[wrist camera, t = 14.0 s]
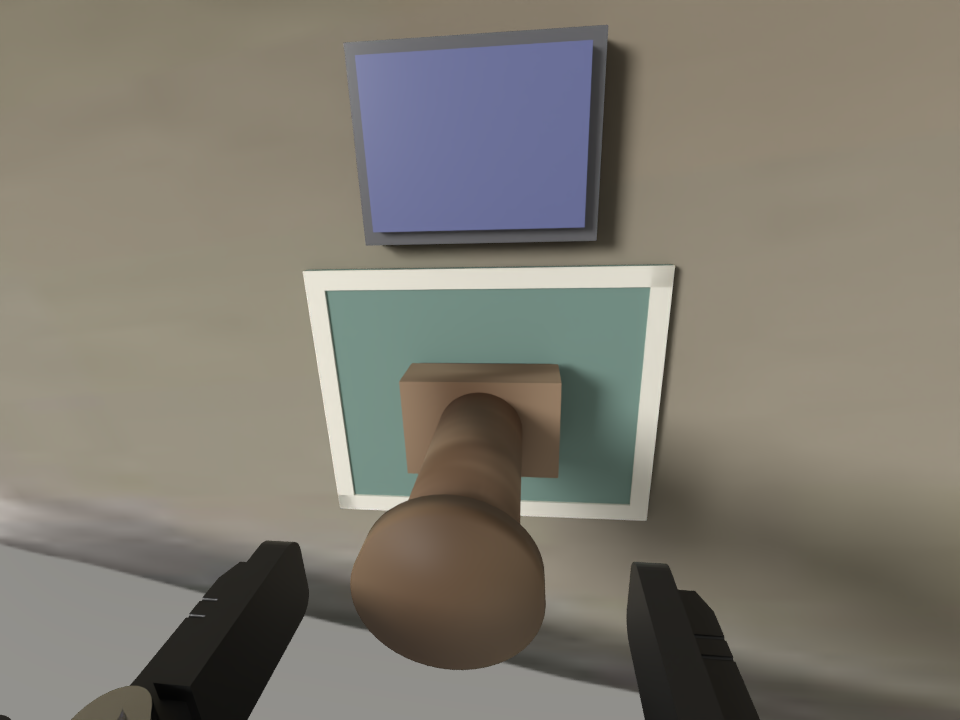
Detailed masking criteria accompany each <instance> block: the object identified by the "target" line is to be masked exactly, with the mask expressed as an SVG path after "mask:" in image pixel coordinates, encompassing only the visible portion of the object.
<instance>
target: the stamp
mask: <svg viewBox="0 0 960 720" xmlns="http://www.w3.org/2000/svg"><path fill="white" fill-rule="evenodd" d="M561 385H562V383H561V377H560V372H559V366H558V364H526V363H412V364H411V365H410V366H409V368H408V369H407V371H406V372H405V374H404V375H403V377H402V378H401V380H400V381H399V386H400V396H401V407H402V417H403V428H404V438H405V449H406V459H407V470H408V473H413V474H418V476H417V479H416V482H415V484H414V487H413V489H412V492H411V494H410V497H409V499H408V501H405V502H403V503H400V504H398V505H397V506H395V507H393V508H391V509H390V510H388V511H387V512H386V513H385V514H383V515H382V516H381V517H380V518H379V519H378V520H377V521H376V522H375V524H374V525H373V527H372V528H371V530H370V531H369V533H368V535H367V538H366V540H365V542H364V544H363V546H362V548H361V550H360V552H359V555H358V557H357V559H356V561H355V563H354V566H353V569H352V573H351V583H350V585H351V595H352V599H353V603H354V606H355V608H356V611H357V613H358V615H359V616H360V618H361V620H362V622H363V623H364V624H365V626H366V627H367V628H368V630H369V631H370V632H371V633H372V634H373V635H374V636H375V637H376V638H377V639H378V640H379V641H381V642H382V643H383V644H384V645H386V646H387V647H388V648H390V649H391V650H393V651H394V652H396V653H398V654H400V655H402V656H404V657H406V658H408V659H410V660H413V661H415V662H418V663H421V664H425V665H427V666H432V667H436V668H443V669H450V670H451V669H452V670H469V669H478V668H484V667H489V666H492V665H495V664H498V663H501V662H503V661H506V660H508V659H510V658H511V657H513V656H515V655H517V654H518V653H519V652H521V651H522V650H523V649H525V648H526V647H527V646H528V644H529V643H530V642H531V641H532V640H533V639H534V637H535V636H536V635H537V633H538V631H539V629H540V627H541V625H542V622H543V619H544V615H545V607H546V601H545V577H544V565H543V561H542V557H541V554H540V552H539V549H538V547H537V545H536V544H535V542H534V540H533V539H532V537H531V536H530V535H529V533H528V532H527V531H526V530H525V529H524V528H523V527H522V526H521V525H520V509H521V477H537V478H558V475H559V445H560V415H561Z"/></svg>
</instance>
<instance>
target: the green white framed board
mask: <svg viewBox="0 0 960 720" xmlns="http://www.w3.org/2000/svg"><path fill="white" fill-rule="evenodd" d="M674 272H675V265H673V264H653V265H587V266H521V267H456V268H390V269H325V270H305V271H303V276H304V283H305V289H306V295H307V301H308V308H309V314H310V320H311V327H312V333H313V339H314V346H315V352H316V358H317V365H318V371H319V377H320V384H321V390H322V396H323V403H324V409H325V415H326V422H327V428H328V434H329V440H330V447H331V453H332V459H333V466H334V472H335V478H336V485H337V491H338V497H339V504H340V509H364V510H390V509H391V508H393V507H395V506H397V505H398V504H400V503H403V502H405V501H408V499H409V497H410V494H411V492H412V489H413V487H414V484H415V482H416V479H417V476H418V474H413V473H408V470H407V459H406V449H405V438H404V428H403V417H402V407H401V396H400V386H399V381H400V380H401V378H402V377H403V375H404V374H405V372H406V371H407V369H408V368H409V366H410V365H411V364H412V363H526V364H558V366H559V372H560V377H561V383H562V385H561V415H560V445H559V475H558V478H537V477H521V509H520V516H538V517H563V518H588V519H613V520H638V521H647V512H648V503H649V495H650V486H651V477H652V468H653V459H654V450H655V441H656V432H657V423H658V414H659V405H660V396H661V388H662V379H663V370H664V361H665V352H666V343H667V334H668V325H669V316H670V307H671V298H672V289H673V281H674Z"/></svg>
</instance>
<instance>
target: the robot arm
mask: <svg viewBox="0 0 960 720" xmlns="http://www.w3.org/2000/svg"><path fill="white" fill-rule="evenodd" d="M308 599H309V588H308V583H307V578H306V574H305V569H304V564H303V559H302V554H301V549H300V546H299V544H298V543H296V542H284V541H265V542H263V543H262V544H261V545H260V546H259V547H258V548H257V550H256V551H255V552H254V554H253V555H252V556H251V557H250V559H249V560H248V561H247V562H239V563H238V564H237V565H235V566H234V567H233V568H231V569H230V570H229V571H227V572H226V573H225V574H223V575H222V576H221V577H219V578H218V579H217V581H216V582H215V583H214V584H213V585H212V587H211V588H210V589H209V590H208V592H207V593H206V594H205V595H204V596H203V600H202V601H199V603H198V604H197V605H196V606H195V607H194V609H193V610H192V611H191V612H190V615H189V617H188V618H185V620H184V621H183V622H182V623H181V624H180V626H179V627H178V628H177V629H176V631H175V632H174V633H173V634H172V635H171V637H170V638H169V639H168V640H167V642H166V643H165V644H164V645H163V646H162V648H161V649H160V650H159V651H158V652H157V654H156V655H155V656H154V657H153V659H152V660H151V661H150V662H149V663H148V665H147V666H146V667H145V668H144V670H143V671H142V672H141V673H140V674H139V676H138V677H137V678H136V679H135V680H134V681H133V683H132V684H131V685H130V686H125V687H121V688H118V689H115V690H112V691H110V692H108V693H106V694H104V695H102V696H100V697H98V698H97V699H95V700H94V701H92V702H91V703H89V704H88V705H87V706H86V707H84V708H83V709H82V710H81V711H80V712H78V714H76V715H75V716H74V718H72V719H71V720H248V718H249V716H250V714H251V712H252V710H253V709H254V707H255V705H256V703H257V701H258V699H259V698H260V696H261V694H262V692H263V690H264V688H265V687H266V685H267V683H268V681H269V679H270V677H271V676H272V674H273V672H274V670H275V668H276V666H277V665H278V663H279V661H280V659H281V657H282V655H283V654H284V652H285V650H286V648H287V646H288V644H289V643H290V641H291V639H292V637H293V635H294V633H295V631H296V630H297V628H298V626H299V624H300V622H301V621H302V619H303V617H304V614H305V612H306V609H307V605H308ZM627 633H628V640H629V646H630V651H631V655H632V660H633V665H634V670H635V675H636V679H637V684H638V689H639V694H640V698H641V703H642V708H643V713H644V717H645V720H760V719H759V716H758V714H757V712H756V709H755V707H754V705H753V702H752V700H751V698H750V695H749V693H748V691H747V688H746V686H745V684H744V681H743V679H742V677H741V674H740V672H739V670H738V667H737V665H736V663H735V662H734V661H733V656H732V653H731V651H730V649H729V646H728V644H727V642H726V641H725V640H724V635H723V632H722V630H721V628H720V625H719V623H718V621H717V618H716V616H715V614H714V612H713V611H712V609H711V608H710V607H709V606H708V605H707V604H706V603H705V602H704V600H703V599H702V598H701V597H700V596H699V595H698V594H697V593H696V592H695V591H686V590H678V589H677V586H676V584H675V581H674V578H673V575H672V573H671V570H670V568H669V566H668V565H667V564H661V563H643V562H633V563H632V566H631V573H630V583H629V594H628V604H627ZM0 720H11V719H10V718H9V717H7V716H4V715H0Z"/></svg>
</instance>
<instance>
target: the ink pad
mask: <svg viewBox="0 0 960 720" xmlns="http://www.w3.org/2000/svg"><path fill="white" fill-rule="evenodd" d="M607 38H608V25H598V26H583V27H568V28H554V29H539V30H524V31H509V32H495V33H480V34H465V35H450V36H435V37H421V38H406V39H391V40H376V41H362V42H347V43H344V51H345V60H346V69H347V78H348V87H349V96H350V105H351V114H352V123H353V133H354V142H355V151H356V160H357V169H358V178H359V187H360V196H361V205H362V214H363V223H364V232H365V241H366V245H410V244H458V243H507V242H555V241H597V223H598V204H599V186H600V167H601V149H602V131H603V112H604V94H605V75H606V57H607Z"/></svg>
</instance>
